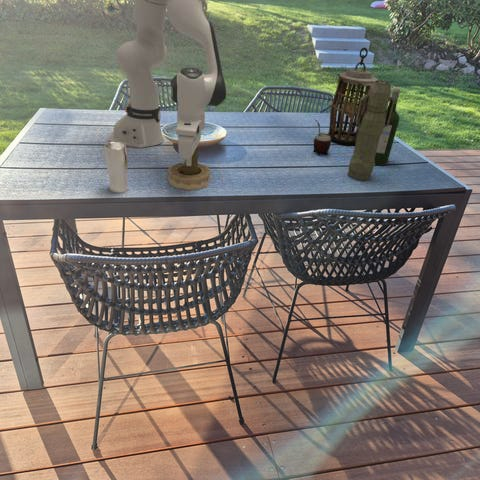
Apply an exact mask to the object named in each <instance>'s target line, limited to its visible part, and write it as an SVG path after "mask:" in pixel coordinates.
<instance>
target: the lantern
mask: <svg viewBox="0 0 480 480" xmlns="http://www.w3.org/2000/svg"><path fill="white" fill-rule="evenodd" d="M363 51H365V55H364V54H362V52H363ZM368 52H369V50H368V49H367V47H362V48H361V49H360V51H359V57H360V62H358V63H357V64H356V65H355V68H349V69H348V70H347V71H346V72H341V73H338V74H337V75H338V82H337V85H336V88H335V92H334V95H333V99H332V101H331V102H332V103H331V105H330V113H329V128H328V132H327V134H328V135H330V138H331V144H334V145H335V144H336V145H338V146H341V145H342V147H349V146H354V147H355V145H356V140H357V136H358V126H359V125H358V124H357V123H356V117H357V113H358V108H359V104H360V99H361V98H362V97H363V96H364V95H367V94H368V90H369V88H370V86H371V85H372V83H373V82H375V81H379V79H378V77H376V76H374V75H372V71H370V70H368V69H366V67H367V66H366V65H365V63H364V59H366V57H367V56H368V54H369V53H368ZM358 66H363V68H362V69H361V68H358ZM366 99H367V98H366ZM366 99H365V101H364V105H363V109H362V113H363V111H364V108H365V106H366ZM362 113H361V115H362ZM355 129H356V130H355Z"/></svg>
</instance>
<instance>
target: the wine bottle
mask: <svg viewBox="0 0 480 480" xmlns="http://www.w3.org/2000/svg"><path fill="white" fill-rule="evenodd" d="M400 94H401V88H400V87H393V89H392V90H391V95H390V97H393V99H394V101H395V103H394V106H393V110H392V114H391V117H390V121H389V124H388V127H385V128H384V129H383V133H382V135H381V136H380V139H379V143H378V147H377V150H376V154H375V158H374V159H375V165H374V166H377V165H384V166H386V165H387V164H388V162H389V158H390V155H391V151H392V147H393V144H394V140H395V136H396V133H397V129H398V126H399V124H400V123H399V122H400V116H399V114H398V112H397V109H396V108H397V105H398V100H399V96H400ZM389 105H390V101H389V103H388V107H387V108H386V117H387V113H388V109H389Z"/></svg>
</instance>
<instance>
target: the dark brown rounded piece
mask: <svg viewBox="0 0 480 480" xmlns="http://www.w3.org/2000/svg"><path fill="white" fill-rule="evenodd" d="M199 155H200V152H199V150H198V149H197V148H196V150H195V152H194V154H193V156H192V165H191V166H186V159H184V162H185V164H184V171H183V175H188V176H192V175H198V174H199V169H198V163H199V160H198V159H199V157H200V156H199Z"/></svg>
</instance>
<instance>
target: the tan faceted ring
mask: <svg viewBox="0 0 480 480" xmlns="http://www.w3.org/2000/svg"><path fill="white" fill-rule="evenodd" d="M184 164H185V161H182V162H177V163H174V164H172V165H171V166H170V167H169V168H168V169H167V178H168V179H167V180H168V181H167V182H169V184H170V185H171V186H172V187H174V188H177V189H179V190H185V191H195V190H202V189H203V188H206V187H208V186H209V184H210V181H211V169H210V168H209V167H208V166H207V165H206V164H205V165H204V164H202V163H199V162H198V169H199V174H198V175H192V176H188V175H183V171H184Z"/></svg>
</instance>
